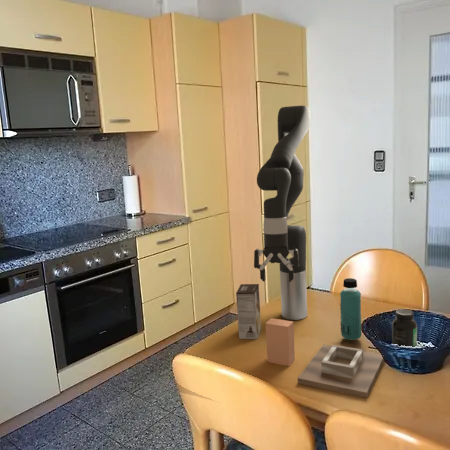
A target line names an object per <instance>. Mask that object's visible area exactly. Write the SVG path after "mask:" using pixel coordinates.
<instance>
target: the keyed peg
mask: <svg viewBox="0 0 450 450" xmlns="http://www.w3.org/2000/svg"><path fill="white" fill-rule="evenodd" d="M294 326H295V325H294V320H291V321H290V320H287V319H286V320H285V319H278V318H272V317H271V318H269V320H267V321H266V322H265V342H266V361H267V362H268V363H272V364H276V365H283V366H286V367H287V366H288V367H291V365H292V364H293V363H294V361H296V359H295V358H296V355H295V354H296V353H295V332H294V331H295V329H294Z"/></svg>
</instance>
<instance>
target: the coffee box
mask: <svg viewBox="0 0 450 450" xmlns="http://www.w3.org/2000/svg"><path fill="white" fill-rule="evenodd" d="M235 295H236V310H237V311H236V312H237V313H236V314H237V326H238V339H239V340H240V339H241V340H258V339H259V336H260V333H261V329H262V320H261V317H262V316H261V304H260V302H261V301H260V299H261V298H260V285H259V283H251V284H250V283H244V284H243V283H242V284H240V285H239V286H238V289H237V290H236V292H235Z"/></svg>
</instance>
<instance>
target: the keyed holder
mask: <svg viewBox="0 0 450 450" xmlns="http://www.w3.org/2000/svg"><path fill="white" fill-rule="evenodd" d="M381 354H382V353H377V352H372V351H366V350H364V349H362V348H356V347H355V348H354V347H349V346H344V345H337V344H333V345H330V344H329V345H328V344H323V345H322V346H321V347H320V348H319V350H318V351H317V352H316V353H315V355H314V356H313V357H312V358H311V360H310V362H309V363H308V364H307V365H306V367H305V368H304V369H303V370H302V372H301V373H300V375H299V376H298V377H297V384H300V385H303V386H309V387H312V386H313V388H317V387H318V389H322V390H327V391H331V392H336V393H339V394H340V393H341V394H346V395H351V396H355V397H360V398H364V399H367V398H368V396H369V394H370V392H371V391H372V387H373V386H374V383H375V382H376V380H377V377H378V375H379V372H380V371H381V369H382V366H383V364H384V362H385V360H384V359H383V357H382V355H381Z"/></svg>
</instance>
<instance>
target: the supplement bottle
mask: <svg viewBox="0 0 450 450" xmlns="http://www.w3.org/2000/svg"><path fill="white" fill-rule="evenodd" d="M417 339H418V323H417V321H416V320H415V319H414V311H413V310H410V309H405V308H400V309H399V308H398V309H396V310H395V318H394V319H393V320H392V323H391V345H392V344H398V345H405V346H412V347H415V346H417V347H418V343H417V342H418V340H417Z"/></svg>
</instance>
